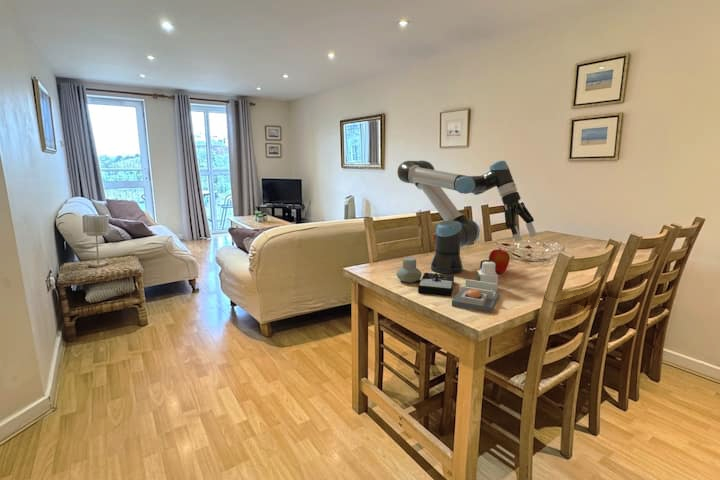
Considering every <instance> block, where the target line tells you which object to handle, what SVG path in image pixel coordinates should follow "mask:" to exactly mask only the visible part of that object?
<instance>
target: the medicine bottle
mask: <svg viewBox="0 0 720 480" xmlns="http://www.w3.org/2000/svg"><path fill="white" fill-rule="evenodd" d="M495 270H496V263H495V262H494V261H491V260H489V259H483V260H481V261H480V266H479V269H478V270H477V271H476V281H483V282H490V283H497V284H498V282H499V281H498V279H499V275H498V273H496V272H495Z"/></svg>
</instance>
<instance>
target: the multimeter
mask: <svg viewBox="0 0 720 480" xmlns="http://www.w3.org/2000/svg"><path fill="white" fill-rule="evenodd" d="M420 279H421V280H420V282H419V284H418V286H417V293H418V294H422V295H431V296H441V297H452V294H453V289H454V283H455V275H454V274H444V273H438V272H434V273H433V272H424V273H423V275H422V276H421V278H420Z"/></svg>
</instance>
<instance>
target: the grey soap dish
mask: <svg viewBox="0 0 720 480" xmlns="http://www.w3.org/2000/svg"><path fill="white" fill-rule="evenodd" d="M469 289H477V290H480V291H481V292H482V293H481V298H480V299H477V298H471V297H467V290H469ZM499 297H500V290H498V283H490V282H483V281H477V279H476V280H475V279H474V280H473V279H467V278H466V279H465V285H460V289H459V291H458V292H457V293H456V294H455V296H454V297H453V298H452V300H451V306H452V307H455V308H456V307H457V308H462V309H467V310H474V311H477V312H478V311H479V312H484V313H490V314H492V313H493V311H494V309H495V306H496V304H497V301H498V300H499Z"/></svg>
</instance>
